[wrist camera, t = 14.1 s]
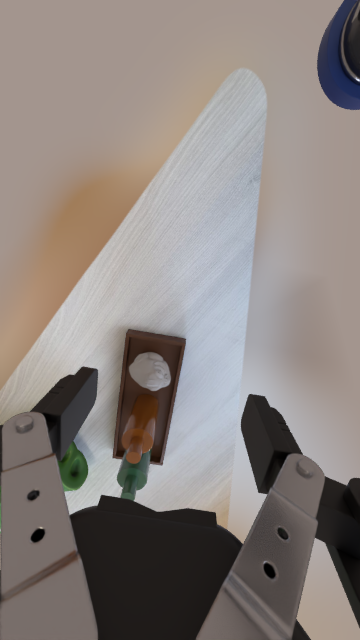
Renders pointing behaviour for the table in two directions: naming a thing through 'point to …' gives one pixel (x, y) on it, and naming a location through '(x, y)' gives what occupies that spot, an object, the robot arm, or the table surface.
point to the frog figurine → (150, 371)
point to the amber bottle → (140, 427)
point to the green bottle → (133, 475)
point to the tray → (130, 389)
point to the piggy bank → (69, 470)
